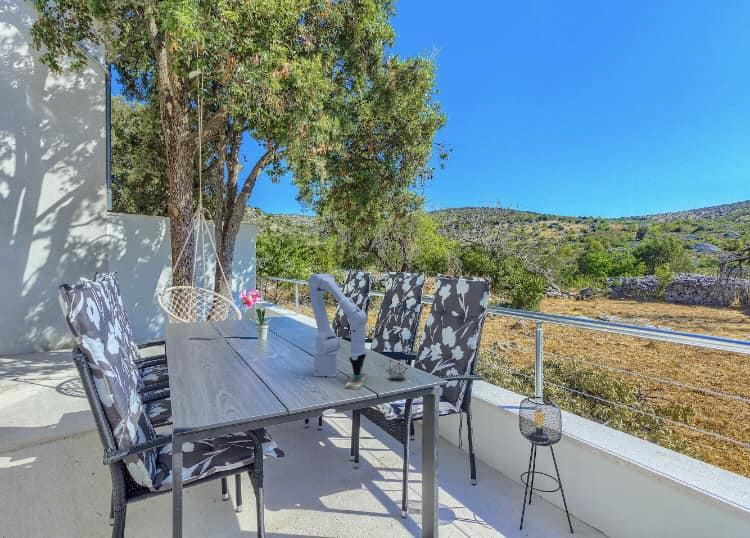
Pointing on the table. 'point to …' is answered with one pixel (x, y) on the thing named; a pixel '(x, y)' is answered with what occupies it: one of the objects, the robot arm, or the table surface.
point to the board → (356, 382)
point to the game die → (396, 369)
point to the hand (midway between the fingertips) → (357, 373)
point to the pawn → (358, 375)
